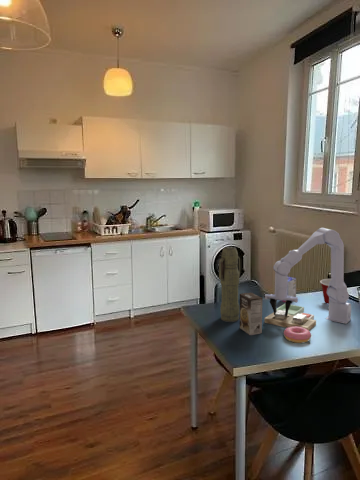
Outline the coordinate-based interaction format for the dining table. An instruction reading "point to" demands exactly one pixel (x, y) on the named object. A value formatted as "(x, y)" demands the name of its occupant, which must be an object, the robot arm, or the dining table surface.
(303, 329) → the doughnut
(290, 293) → the ink cartridge box
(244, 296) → the coffee box
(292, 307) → the tote
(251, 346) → the dining table surface
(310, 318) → the button housing
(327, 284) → the plastic cup
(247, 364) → the dining table surface
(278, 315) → the billet
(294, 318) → the block
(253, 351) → the dining table surface
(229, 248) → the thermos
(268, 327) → the dining table surface
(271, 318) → the tan open frame
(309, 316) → the button
